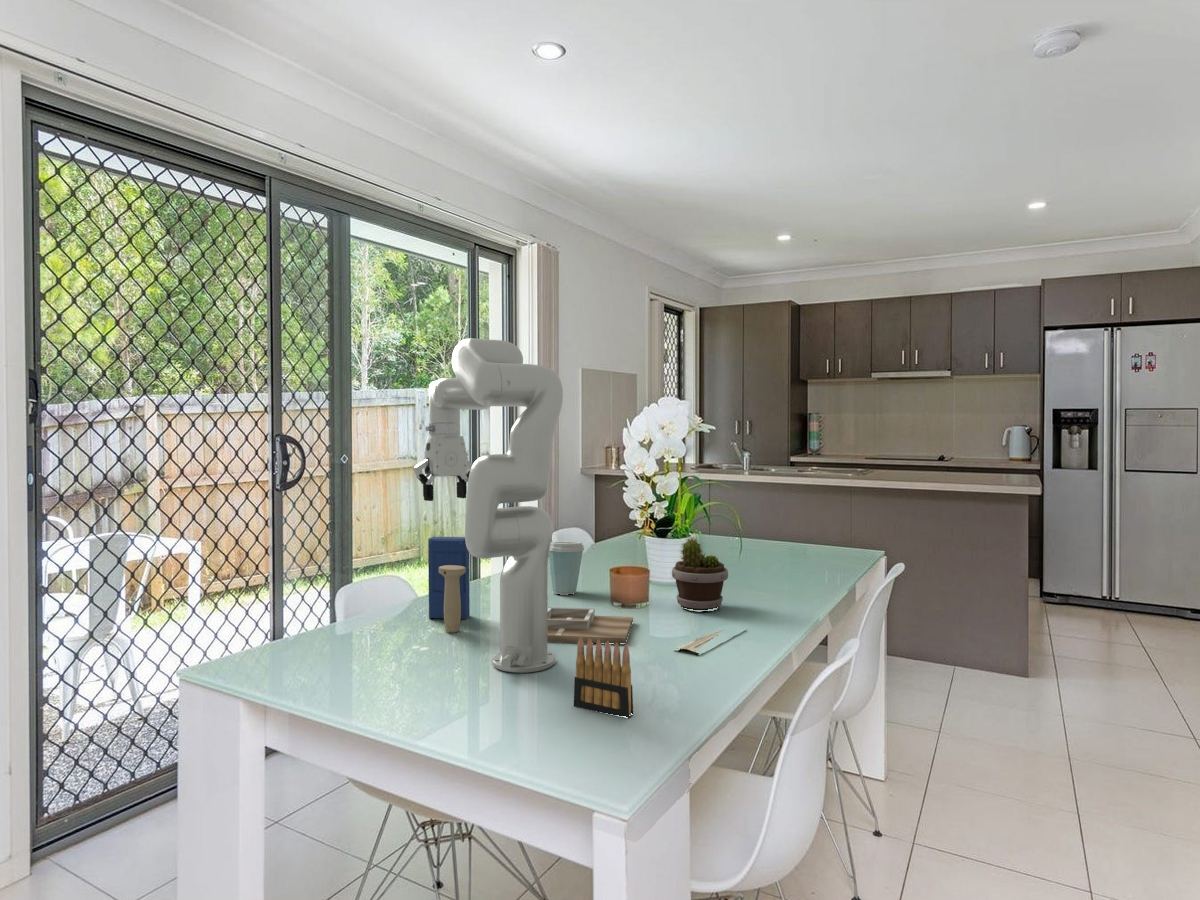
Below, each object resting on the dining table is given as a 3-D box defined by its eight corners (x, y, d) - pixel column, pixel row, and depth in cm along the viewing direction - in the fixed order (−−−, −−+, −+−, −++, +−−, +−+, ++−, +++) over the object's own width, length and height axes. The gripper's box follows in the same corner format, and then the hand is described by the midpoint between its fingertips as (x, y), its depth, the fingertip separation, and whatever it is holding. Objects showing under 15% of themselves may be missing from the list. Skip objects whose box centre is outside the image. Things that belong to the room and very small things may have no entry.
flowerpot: (699, 598, 202) (699, 526, 201) (740, 609, 189) (740, 533, 189) (659, 606, 193) (659, 531, 192) (699, 618, 181) (700, 538, 180)
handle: (449, 627, 173) (448, 564, 173) (469, 630, 170) (469, 567, 169) (434, 631, 169) (434, 567, 168) (455, 636, 166) (455, 570, 165)
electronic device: (470, 615, 184) (470, 536, 183) (464, 620, 179) (464, 539, 178) (434, 614, 185) (433, 535, 184) (427, 619, 180) (427, 539, 179)
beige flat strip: (698, 659, 151) (698, 651, 151) (669, 653, 155) (669, 645, 155) (746, 633, 170) (746, 626, 170) (718, 629, 174) (718, 621, 174)
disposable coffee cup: (543, 590, 212) (543, 539, 211) (578, 588, 215) (578, 537, 215) (551, 598, 202) (551, 544, 201) (589, 596, 205) (589, 543, 204)
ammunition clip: (633, 715, 120) (633, 643, 120) (628, 719, 119) (628, 646, 118) (579, 702, 126) (578, 634, 125) (573, 706, 124) (573, 636, 124)
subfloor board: (625, 645, 159) (625, 629, 159) (527, 640, 162) (527, 625, 162) (632, 623, 177) (632, 608, 177) (544, 619, 180) (544, 605, 180)
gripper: (422, 430, 172) (423, 502, 172) (482, 430, 184) (482, 497, 185) (405, 430, 177) (406, 500, 178) (464, 430, 190) (465, 495, 190)
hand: (445, 499), depth 181 cm, fingers open, 9 cm apart
